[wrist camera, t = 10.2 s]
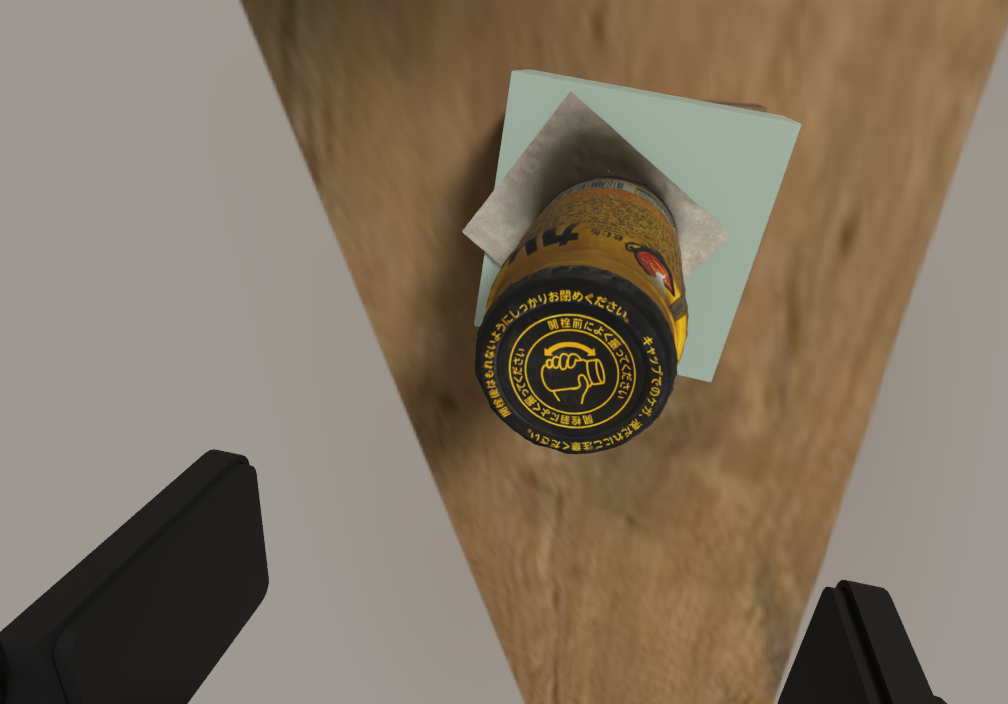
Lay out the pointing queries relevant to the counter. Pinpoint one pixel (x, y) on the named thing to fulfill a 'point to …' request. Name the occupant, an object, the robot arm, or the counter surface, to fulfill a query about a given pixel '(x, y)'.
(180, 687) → the robot arm
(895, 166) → the counter surface
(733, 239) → the top block
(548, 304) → the condiment
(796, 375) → the counter surface
